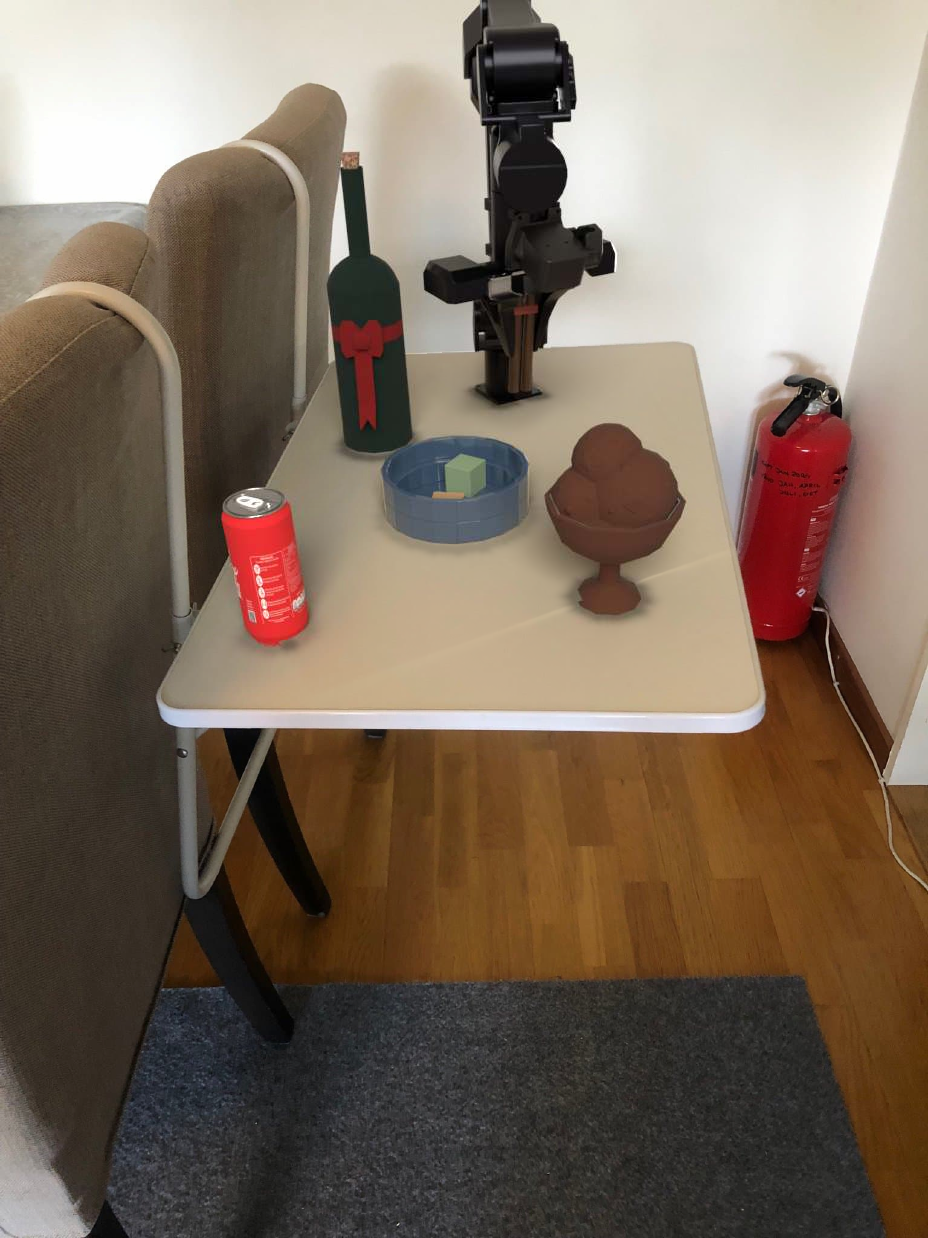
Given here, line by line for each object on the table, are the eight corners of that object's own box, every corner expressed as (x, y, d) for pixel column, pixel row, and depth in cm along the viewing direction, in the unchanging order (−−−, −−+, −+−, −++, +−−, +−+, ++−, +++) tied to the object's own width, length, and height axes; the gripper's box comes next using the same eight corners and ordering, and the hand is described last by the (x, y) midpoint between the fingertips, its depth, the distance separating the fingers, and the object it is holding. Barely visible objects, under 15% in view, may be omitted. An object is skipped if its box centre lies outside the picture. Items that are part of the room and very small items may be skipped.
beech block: (435, 518, 89) (433, 491, 87) (466, 520, 89) (464, 492, 87) (429, 534, 87) (428, 506, 85) (461, 535, 86) (460, 507, 85)
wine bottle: (336, 467, 101) (296, 166, 83) (349, 429, 109) (316, 147, 91) (407, 466, 100) (383, 163, 83) (415, 427, 108) (395, 144, 91)
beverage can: (281, 656, 73) (256, 524, 66) (234, 637, 75) (204, 508, 68) (323, 623, 77) (303, 494, 70) (276, 606, 79) (252, 480, 72)
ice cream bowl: (524, 615, 76) (523, 450, 68) (574, 552, 84) (580, 396, 76) (646, 648, 72) (663, 475, 63) (688, 577, 80) (708, 416, 71)
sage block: (461, 479, 96) (460, 453, 94) (486, 486, 94) (485, 459, 93) (445, 491, 94) (444, 464, 92) (470, 498, 92) (469, 471, 91)
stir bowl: (363, 501, 94) (358, 456, 91) (484, 467, 99) (483, 424, 96) (424, 564, 84) (421, 516, 81) (556, 523, 89) (557, 476, 86)
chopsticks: (506, 389, 96) (509, 293, 90) (528, 386, 97) (534, 290, 91) (510, 394, 95) (514, 297, 89) (533, 390, 96) (539, 294, 90)
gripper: (472, 220, 75) (478, 399, 85) (657, 189, 82) (643, 359, 91) (415, 196, 84) (426, 362, 93) (588, 170, 90) (581, 328, 99)
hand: (521, 353), depth 94 cm, fingers closed on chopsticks, 2 cm apart
